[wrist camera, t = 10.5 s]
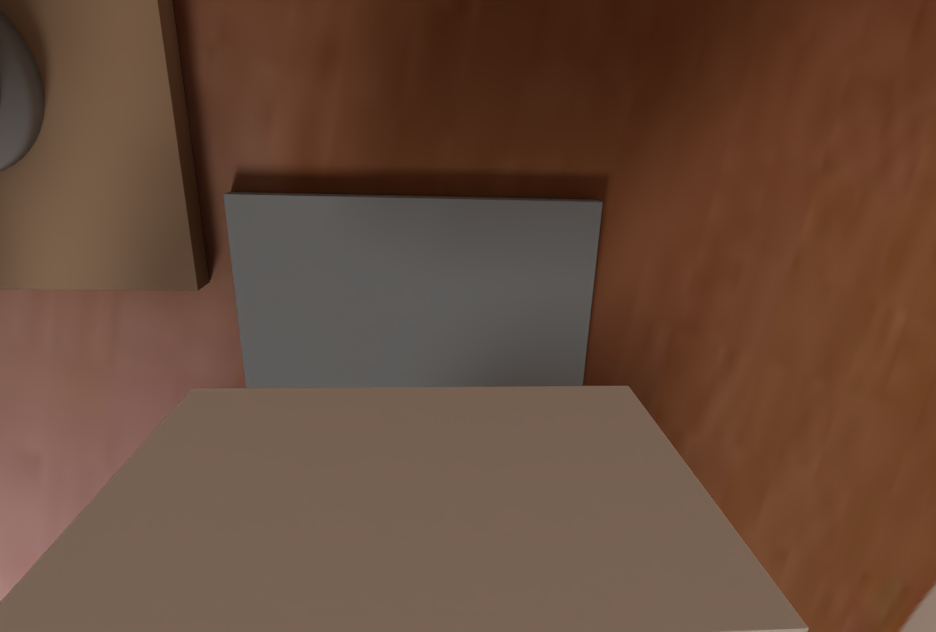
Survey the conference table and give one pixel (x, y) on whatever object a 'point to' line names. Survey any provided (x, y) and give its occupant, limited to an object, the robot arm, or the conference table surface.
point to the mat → (412, 289)
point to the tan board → (96, 149)
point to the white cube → (402, 522)
